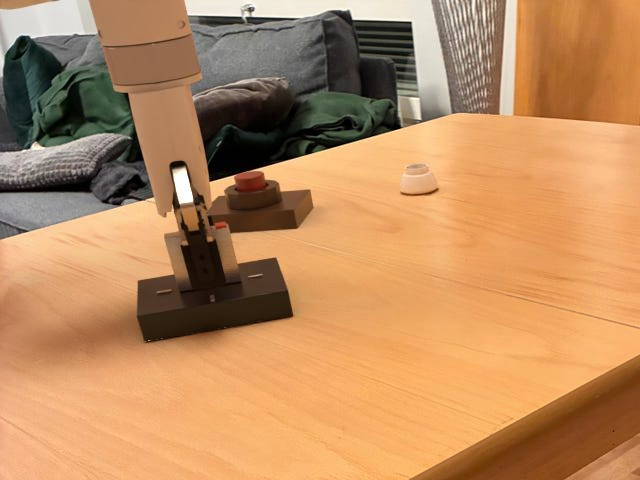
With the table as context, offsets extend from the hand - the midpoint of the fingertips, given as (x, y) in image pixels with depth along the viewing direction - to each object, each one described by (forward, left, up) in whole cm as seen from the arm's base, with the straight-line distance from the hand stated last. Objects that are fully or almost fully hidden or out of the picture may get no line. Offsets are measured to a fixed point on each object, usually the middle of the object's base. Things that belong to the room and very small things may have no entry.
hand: (207, 272), depth 93 cm
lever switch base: (0, 0, -4) cm, 4 cm away
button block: (-4, +31, -4) cm, 31 cm away
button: (-4, +31, 0) cm, 31 cm away
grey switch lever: (0, 0, -1) cm, 1 cm away
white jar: (+15, +40, -4) cm, 43 cm away
